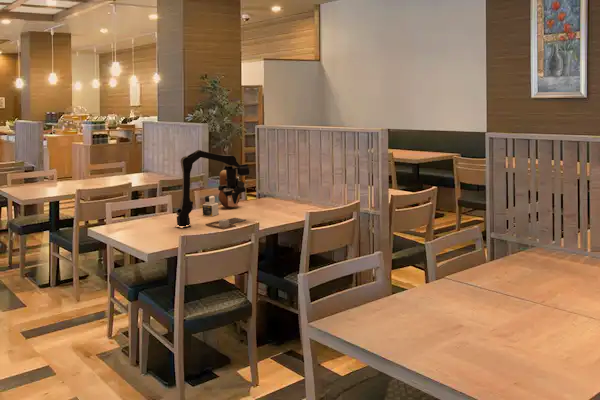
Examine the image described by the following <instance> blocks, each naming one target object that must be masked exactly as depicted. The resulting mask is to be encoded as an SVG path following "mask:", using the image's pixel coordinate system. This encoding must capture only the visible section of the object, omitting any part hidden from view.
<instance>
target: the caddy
mask: <svg viewBox="0 0 600 400" xmlns="http://www.w3.org/2000/svg"><path fill="white" fill-rule="evenodd" d="M216 224H219V220H216V221H212V222H207V223H205V225H207V226H206V227H211V228H216V229H220V230H225V229H227V230H228V229H230V228H231V229H232V228H235V227H237V225H236V223H233V224H232V223H229V226H226V227H221V226H219V225H216Z"/></svg>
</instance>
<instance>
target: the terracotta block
mask: <svg viewBox="0 0 600 400" xmlns="http://www.w3.org/2000/svg"><path fill="white" fill-rule="evenodd" d="M238 204H239V202H238V201H237V202H236V204H234V202H233V198H232V195H230V196H228V206H231V207H232V208H234V207H238V206H239V205H238Z"/></svg>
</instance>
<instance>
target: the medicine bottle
mask: <svg viewBox="0 0 600 400" xmlns="http://www.w3.org/2000/svg"><path fill="white" fill-rule="evenodd" d="M201 207H202V208H201V209H202V216H203V215H204V217H215V216H217V215H219V214H220V213H219V211H220V210H219V203H218V202H216V197H215V196H214V195H207V196H205V197H204V204H202V206H201Z"/></svg>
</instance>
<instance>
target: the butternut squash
mask: <svg viewBox="0 0 600 400" xmlns="http://www.w3.org/2000/svg"><path fill="white" fill-rule="evenodd" d="M236 178H238V175H237V174H236ZM225 179H226V170H223V169H222V170H221V171H220V172H219V186H220V185H227V181H225ZM230 189H231V188H230ZM222 191H223V190H222ZM222 191H220V190H219V194H218V201H219V202H220V204H221V205H222V207H224V208H226V209H232V208H233V207H231V206H228V199H227V198H226V196H225V194H224V193H223V192H222ZM233 192H234V191H233ZM237 201H238V203H239V202H240V194H239V195H238V198H237Z"/></svg>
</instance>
